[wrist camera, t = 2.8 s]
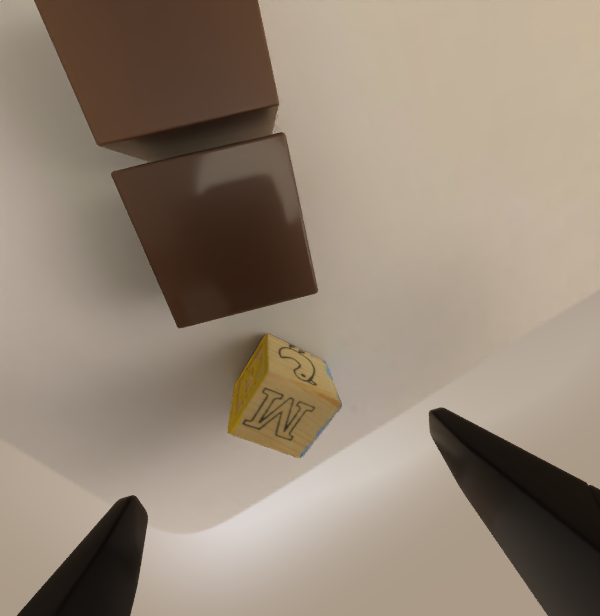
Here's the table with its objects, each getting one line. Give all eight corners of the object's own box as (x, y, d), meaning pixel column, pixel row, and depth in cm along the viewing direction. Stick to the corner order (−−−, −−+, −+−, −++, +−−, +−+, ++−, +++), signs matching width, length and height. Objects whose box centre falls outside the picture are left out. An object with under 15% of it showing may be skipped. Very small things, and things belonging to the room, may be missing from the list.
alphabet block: (292, 408, 14) (300, 463, 11) (232, 385, 13) (225, 438, 10) (326, 359, 13) (345, 404, 10) (265, 330, 12) (268, 371, 9)
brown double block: (200, 290, 11) (177, 330, 8) (91, 2, 8) (-27, -136, 5) (301, 265, 11) (319, 293, 8) (235, -28, 8) (221, -180, 5)
